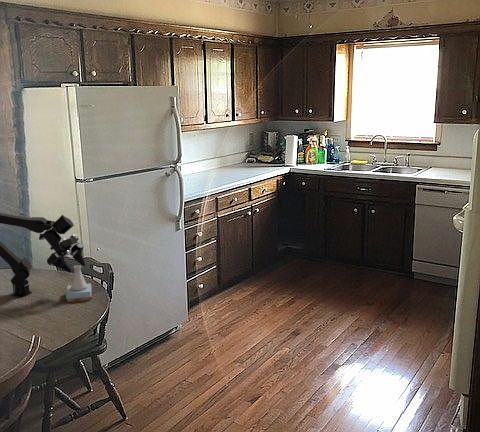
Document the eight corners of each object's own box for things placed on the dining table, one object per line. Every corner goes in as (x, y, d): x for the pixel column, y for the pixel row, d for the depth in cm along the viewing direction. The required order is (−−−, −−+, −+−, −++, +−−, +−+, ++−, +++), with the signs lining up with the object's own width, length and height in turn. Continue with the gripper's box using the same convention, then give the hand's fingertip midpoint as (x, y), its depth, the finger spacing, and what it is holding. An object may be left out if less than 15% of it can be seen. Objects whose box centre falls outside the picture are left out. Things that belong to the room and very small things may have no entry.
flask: (83, 291, 231) (82, 269, 228) (67, 290, 231) (65, 268, 229) (89, 285, 238) (88, 264, 235) (74, 284, 238) (72, 263, 236)
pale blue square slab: (66, 299, 229) (65, 293, 228) (68, 290, 238) (67, 285, 238) (90, 297, 231) (90, 291, 231) (91, 288, 241) (91, 283, 240)
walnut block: (67, 304, 230) (67, 298, 229) (68, 295, 239) (68, 290, 238) (91, 302, 232) (91, 296, 232) (91, 293, 242) (91, 288, 241)
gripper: (50, 235, 222) (73, 264, 220) (79, 225, 239) (101, 251, 237) (36, 251, 227) (59, 279, 225) (66, 240, 243) (87, 266, 242)
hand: (77, 268), depth 232 cm, fingers open, 9 cm apart
